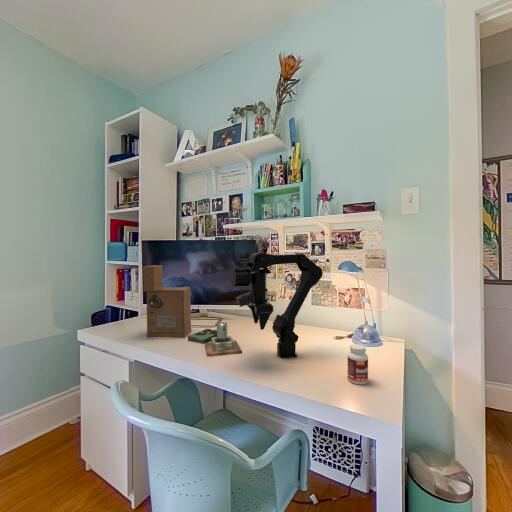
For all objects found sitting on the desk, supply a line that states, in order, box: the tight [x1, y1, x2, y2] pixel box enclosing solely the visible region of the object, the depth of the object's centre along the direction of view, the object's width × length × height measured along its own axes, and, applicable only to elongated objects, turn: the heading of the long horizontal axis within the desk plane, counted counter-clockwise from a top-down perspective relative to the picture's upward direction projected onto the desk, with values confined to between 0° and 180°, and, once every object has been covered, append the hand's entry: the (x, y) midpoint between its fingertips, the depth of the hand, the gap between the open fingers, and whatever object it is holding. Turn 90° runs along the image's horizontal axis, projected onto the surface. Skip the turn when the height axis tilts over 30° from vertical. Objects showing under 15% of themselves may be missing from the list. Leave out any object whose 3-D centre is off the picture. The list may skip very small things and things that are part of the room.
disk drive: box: [187, 328, 217, 345], centre depth 137 cm, size 10×3×15 cm
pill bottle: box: [347, 343, 369, 386], centre depth 91 cm, size 6×6×11 cm
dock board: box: [204, 335, 243, 358], centre depth 121 cm, size 14×14×4 cm
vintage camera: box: [142, 264, 192, 339], centre depth 141 cm, size 19×14×35 cm
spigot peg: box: [216, 321, 229, 343], centre depth 121 cm, size 4×4×10 cm
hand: (258, 326), depth 109 cm, fingers open, 9 cm apart
